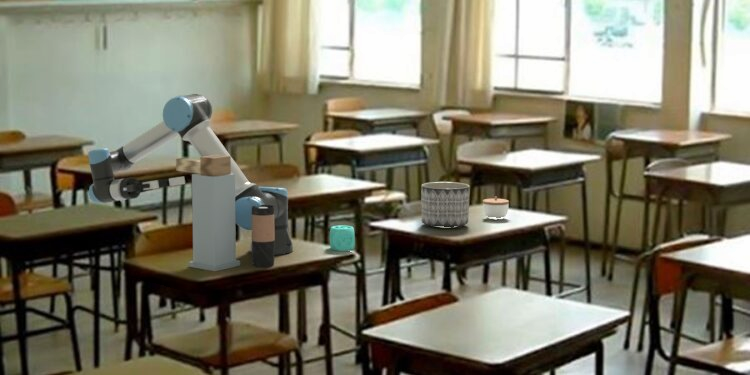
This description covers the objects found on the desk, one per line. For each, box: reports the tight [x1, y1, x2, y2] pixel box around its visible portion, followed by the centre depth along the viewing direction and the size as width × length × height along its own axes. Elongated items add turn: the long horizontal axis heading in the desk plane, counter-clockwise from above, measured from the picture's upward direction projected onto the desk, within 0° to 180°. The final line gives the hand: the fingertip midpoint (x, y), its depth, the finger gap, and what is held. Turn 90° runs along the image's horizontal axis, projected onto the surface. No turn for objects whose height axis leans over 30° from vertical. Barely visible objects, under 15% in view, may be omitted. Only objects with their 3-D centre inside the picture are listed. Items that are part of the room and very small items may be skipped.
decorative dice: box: [329, 224, 356, 252], centre depth 442 cm, size 8×8×8 cm
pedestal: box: [188, 173, 241, 272], centre depth 409 cm, size 12×12×31 cm
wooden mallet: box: [175, 155, 232, 177], centre depth 410 cm, size 20×8×6 cm, turn 53°
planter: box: [420, 181, 471, 227], centre depth 488 cm, size 19×19×16 cm
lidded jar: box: [482, 195, 510, 218], centre depth 506 cm, size 11×11×9 cm
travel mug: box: [251, 205, 275, 268], centre depth 412 cm, size 8×8×20 cm
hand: (171, 182), depth 424 cm, fingers open, 13 cm apart
